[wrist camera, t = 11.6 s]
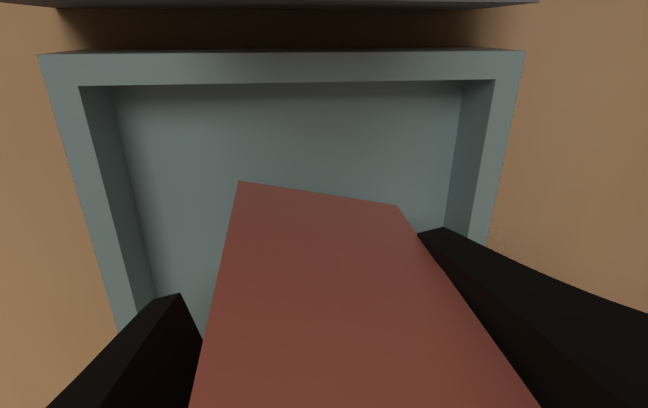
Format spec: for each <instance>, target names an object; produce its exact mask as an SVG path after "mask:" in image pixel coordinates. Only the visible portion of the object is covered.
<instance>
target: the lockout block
mask: <svg viewBox="0 0 648 408" xmlns="http://www.w3.org/2000/svg"><path fill="white" fill-rule="evenodd" d="M188 408H541V406H540V405H539V404H538V402H537V401H536V399H535V398H534V397H533V395H532V394H531V392H530V391H529V390H528V388H527V387H526V385H525V384H524V383H523V381H522V380H521V378H520V377H519V376H518V374H517V373H516V371H515V370H514V369H513V367H512V366H511V364H510V363H509V362H508V360H507V359H506V357H505V356H504V355H503V353H502V352H501V350H500V349H499V348H498V346H497V345H496V343H495V342H494V341H493V339H492V338H491V336H490V335H489V334H488V332H487V331H486V330H485V328H484V327H483V325H482V324H481V323H480V321H479V320H478V318H477V317H476V316H475V314H474V313H473V311H472V310H471V309H470V307H469V306H468V304H467V303H466V302H465V300H464V299H463V297H462V296H461V295H460V293H459V292H458V290H457V289H456V288H455V286H454V285H453V283H452V282H451V281H450V279H449V278H448V276H447V275H446V274H445V272H444V271H443V270H442V269H441V267H440V266H439V265H438V264H437V263H436V262H435V260H434V259H433V257H432V256H431V255H430V253H429V252H428V250H427V249H426V247H425V246H424V245H423V243H422V242H421V240H420V239H419V238H418V236H417V233H416V232H415V230H414V229H413V228H412V226H411V225H410V223H409V222H408V221H407V219H406V218H405V216H404V215H403V214H402V212H401V211H400V209H399V208H398V207H397V205H392V204H386V203H380V202H373V201H367V200H360V199H354V198H348V197H341V196H335V195H329V194H322V193H316V192H310V191H303V190H297V189H291V188H284V187H278V186H271V185H265V184H259V183H252V182H246V181H240V180H238V185H237V189H236V194H235V198H234V203H233V208H232V212H231V217H230V221H229V226H228V230H227V235H226V239H225V244H224V248H223V253H222V257H221V262H220V266H219V271H218V276H217V280H216V285H215V289H214V294H213V298H212V303H211V307H210V312H209V316H208V321H207V325H206V330H205V334H204V339H203V344H202V348H201V353H200V357H199V362H198V366H197V371H196V375H195V380H194V384H193V389H192V393H191V398H190V402H189V407H188Z"/></svg>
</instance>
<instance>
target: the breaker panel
mask: <svg viewBox="0 0 648 408" xmlns="http://www.w3.org/2000/svg"><path fill="white" fill-rule="evenodd" d="M0 2H4V3H14V4H23V5H33V6H42V7H52V8H185V9H360V10H471V9H481V8H490V7H500V6H509V5H519V4H528V3H538V2H539V0H0Z"/></svg>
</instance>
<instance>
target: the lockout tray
mask: <svg viewBox="0 0 648 408" xmlns="http://www.w3.org/2000/svg"><path fill="white" fill-rule="evenodd" d="M525 53H526V51H522V50H509V49H496V48H484V47H451V48H285V49H120V50H75V51H65V52H55V53H46V54H37V58H38V61H39V65H40V68H41V71H42V75H43V78H44V81H45V85H46V88H47V92H48V95H49V98H50V102H51V105H52V109H53V112H54V115H55V119H56V122H57V126H58V129H59V132H60V136H61V139H62V143H63V146H64V149H65V153H66V156H67V159H68V163H69V166H70V170H71V173H72V176H73V180H74V183H75V187H76V190H77V193H78V197H79V200H80V204H81V207H82V210H83V214H84V217H85V220H86V224H87V227H88V231H89V234H90V237H91V241H92V244H93V248H94V251H95V254H96V258H97V261H98V265H99V268H100V271H101V275H102V278H103V281H104V285H105V288H106V292H107V295H108V298H109V302H110V305H111V309H112V312H113V315H114V319H115V322H116V326H117V329H118V332H120V331H121V330H122V329H123V328H124V327H125V326H126V325H127V324H128V323H129V322H130V321H131V320H132V319H133V318H134V317H135V316H136V315H137V314H138V313H139V312H140V311H141V310H142V309H143V308H144V307H145V306H146V305H147V304H148V303H149V302H151V301H152V300H153V299H155V298H159V297H163V296H167V295H171V294H175V293H179V292H180V293H181V295H182V297H183V299H184V301H185V303H186V305H187V307H188V310H189V312H190V314H191V316H192V318H193V320H194V322H195V324H196V326H197V329H198V331H199V333H200V335H201V337H202V339H204V334H205V330H206V325H207V321H208V316H209V312H210V307H211V303H212V298H213V294H214V289H215V285H216V280H217V276H218V271H219V266H220V262H221V257H222V253H223V248H224V244H225V239H226V235H227V230H228V226H229V221H230V217H231V212H232V208H233V203H234V198H235V194H236V189H237V185H238V180H240V181H246V182H252V183H259V184H265V185H271V186H278V187H284V188H291V189H297V190H303V191H310V192H316V193H322V194H329V195H335V196H341V197H348V198H354V199H360V200H367V201H373V202H380V203H386V204H392V205H397V207H398V208H399V209H400V211H401V212H402V214H403V215H404V216H405V218H406V219H407V221H408V222H409V223H410V225H411V226H412V228H413V229H414V230H415V232H416V233H420V232H424V231H428V230H432V229H436V228H440V227H446V228H448V229H450V230H452V231H454V232H456V233H459V234H461V235H463V236H465V237H467V238H469V239H471V240H473V241H475V242H477V243H479V244H481V245H483V246H485V247H486V243H487V238H488V233H489V228H490V224H491V219H492V214H493V209H494V204H495V199H496V194H497V190H498V185H499V180H500V175H501V170H502V165H503V160H504V155H505V151H506V146H507V141H508V136H509V131H510V126H511V121H512V117H513V112H514V107H515V102H516V97H517V92H518V87H519V82H520V78H521V73H522V68H523V63H524V58H525Z"/></svg>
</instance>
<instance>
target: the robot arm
mask: <svg viewBox="0 0 648 408" xmlns="http://www.w3.org/2000/svg"><path fill="white" fill-rule="evenodd" d="M417 236H418V238H419V239H420V240H421V242H422V243H423V245H424V246H425V247H426V249H427V250H428V252H429V253H430V255H431V256H432V257H433V259H434V260H435V262H436V263H437V264H438V265H439V266H440V267H441V269H442V270H443V271H444V272H445V274H446V275H447V276H448V278H449V279H450V281H451V282H452V283H453V285H454V286H455V288H456V289H457V290H458V292H459V293H460V295H461V296H462V297H463V299H464V300H465V302H466V303H467V304H468V306H469V307H470V309H471V310H472V311H473V313H474V314H475V316H476V317H477V318H478V320H479V321H480V323H481V324H482V325H483V327H484V328H485V330H486V331H487V332H488V334H489V335H490V336H491V338H492V339H493V341H494V342H495V343H496V345H497V346H498V348H499V349H500V350H501V352H502V353H503V355H504V356H505V357H506V359H507V360H508V362H509V363H510V364H511V366H512V367H513V369H514V370H515V371H516V373H517V374H518V376H519V377H520V378H521V380H522V381H523V383H524V384H525V385H526V387H527V388H528V390H529V391H530V392H531V394H532V395H533V397H534V398H535V399H536V401H537V402H538V404H539V405H540V406H541V408H648V314H647V313H644V312H642V311H639V310H636V309H633V308H630V307H627V306H624V305H621V304H618V303H615V302H612V301H610V300H607V299H604V298H602V297H599V296H596V295H594V294H591V293H588V292H586V291H584V290H581V289H579V288H576V287H574V286H571V285H569V284H566V283H564V282H562V281H559V280H557V279H554V278H552V277H549V276H547V275H545V274H543V273H540V272H538V271H536V270H533V269H531V268H529V267H527V266H525V265H522V264H520V263H518V262H516V261H514V260H512V259H510V258H507V257H505V256H503V255H501V254H499V253H497V252H495V251H493V250H491V249H489V248H487V247H485V246H483V245H481V244H479V243H477V242H475V241H473V240H471V239H469V238H467V237H465V236H463V235H461V234H459V233H456V232H454V231H452V230H450V229H448V228H446V227H440V228H436V229H432V230H428V231H424V232H420V233H417ZM202 344H203V339H202V337H201V335H200V333H199V331H198V329H197V326H196V324H195V322H194V320H193V318H192V316H191V314H190V312H189V310H188V307H187V305H186V303H185V301H184V299H183V297H182V295H181V293H180V292H179V293H175V294H171V295H167V296H163V297H159V298H155V299H153V300H152V301H151V302H149V303H148V304H147V305H146V306H145V307H144V308H143V309H142V310H141V311H140V312H139V313H138V314H137V315H136V316H135V317H134V318H133V319H132V320H131V321H130V322H129V323H128V324H127V325H126V326H125V327H124V328H123V329H122V330H121V331H120V332H119V333H118V335H117V336H116V337H115V338H114V339H113V340H112V341H111V342H110V343H109V344H108V345H107V346H106V347H105V348H104V349H103V350H102V351H101V352H100V353H99V354H98V355H97V356H96V358H95V359H94V360H93V361H92V362H91V363H90V364H89V365H88V366H87V367H86V368H85V369H84V370H83V371H82V372H81V373H80V374H79V375H78V376H77V377H76V378H75V379H74V380H73V381H72V382H71V383H70V384H69V385H68V386H67V387H66V388H65V389H64V390H63V391H62V392H61V393H60V394H59V395H58V396H57V397H56V398H55V399H54V400H53V401H52V402H51V403H50V404H49V405H48V406H47V407H46V408H188V407H189V402H190V398H191V393H192V389H193V384H194V380H195V375H196V371H197V366H198V362H199V357H200V353H201V348H202Z"/></svg>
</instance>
